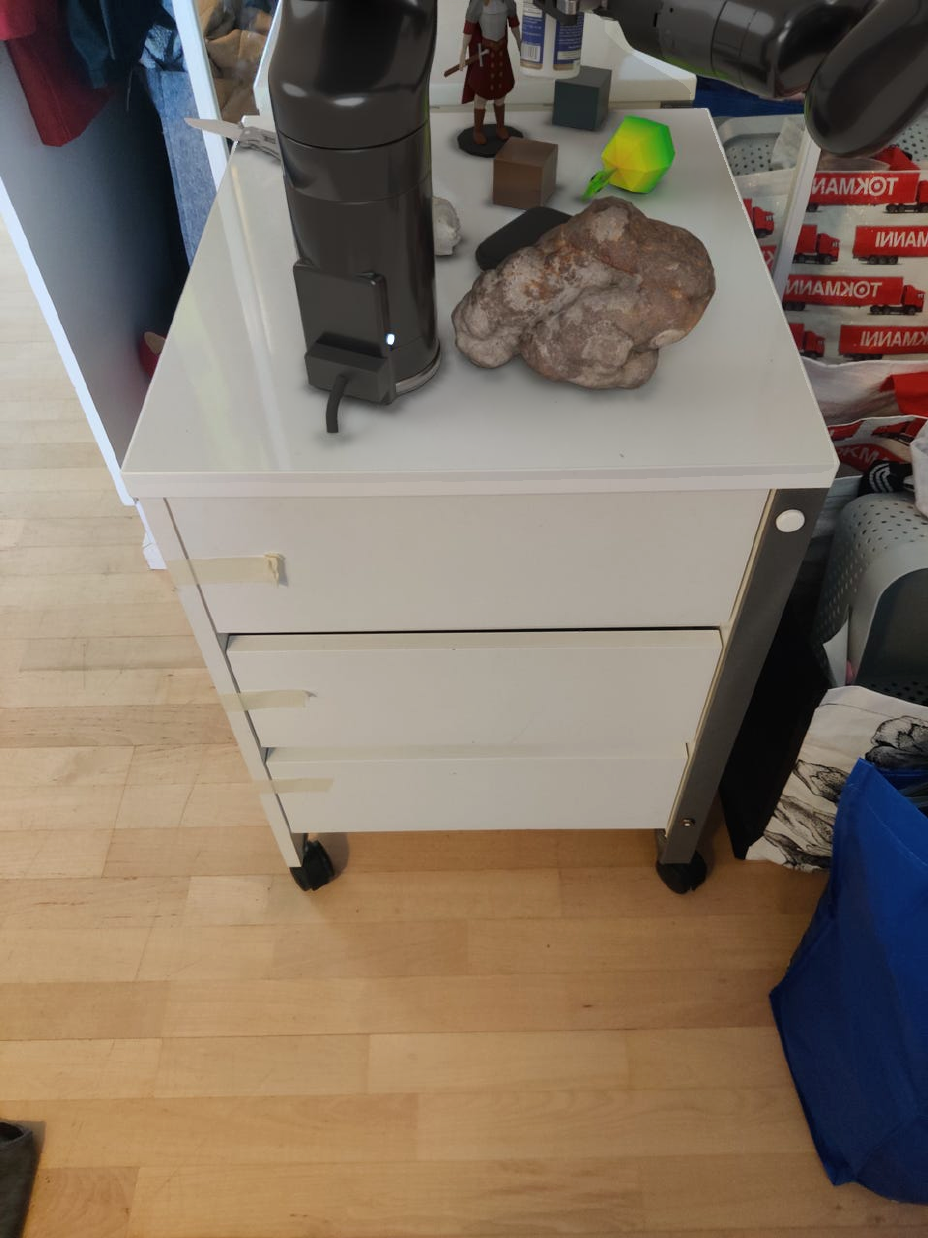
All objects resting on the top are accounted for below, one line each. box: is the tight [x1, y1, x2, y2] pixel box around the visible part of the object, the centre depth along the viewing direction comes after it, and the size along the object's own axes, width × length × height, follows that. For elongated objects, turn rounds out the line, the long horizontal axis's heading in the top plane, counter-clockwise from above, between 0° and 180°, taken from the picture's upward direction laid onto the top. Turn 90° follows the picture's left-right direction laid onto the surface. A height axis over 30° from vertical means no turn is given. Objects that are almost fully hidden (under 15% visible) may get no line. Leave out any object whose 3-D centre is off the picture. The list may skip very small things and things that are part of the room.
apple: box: [581, 114, 676, 201], centre depth 80 cm, size 7×6×9 cm
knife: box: [183, 117, 280, 160], centre depth 87 cm, size 2×18×3 cm
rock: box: [450, 195, 717, 391], centre depth 62 cm, size 18×12×10 cm
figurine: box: [443, 0, 525, 158], centre depth 82 cm, size 7×7×15 cm
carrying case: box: [474, 205, 573, 272], centre depth 71 cm, size 11×3×15 cm
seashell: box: [433, 195, 462, 256], centre depth 77 cm, size 4×16×4 cm, turn 37°
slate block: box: [551, 64, 613, 132], centre depth 90 cm, size 4×4×4 cm
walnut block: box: [492, 136, 559, 211], centre depth 80 cm, size 4×4×4 cm
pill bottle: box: [519, 0, 586, 80], centre depth 77 cm, size 5×5×10 cm
